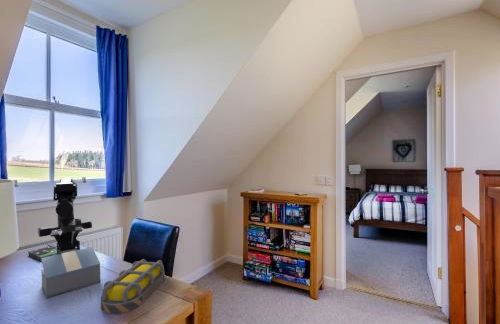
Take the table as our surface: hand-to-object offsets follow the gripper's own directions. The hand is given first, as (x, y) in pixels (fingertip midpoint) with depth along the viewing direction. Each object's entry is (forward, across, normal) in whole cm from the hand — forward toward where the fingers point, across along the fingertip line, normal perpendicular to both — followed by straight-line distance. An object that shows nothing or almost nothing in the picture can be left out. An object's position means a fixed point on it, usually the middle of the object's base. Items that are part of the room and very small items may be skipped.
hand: (66, 247), depth 115 cm
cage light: (+14, +17, -33) cm, 39 cm away
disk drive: (+14, -3, +37) cm, 40 cm away
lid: (+4, 0, -9) cm, 10 cm away
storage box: (+13, 0, -9) cm, 16 cm away
